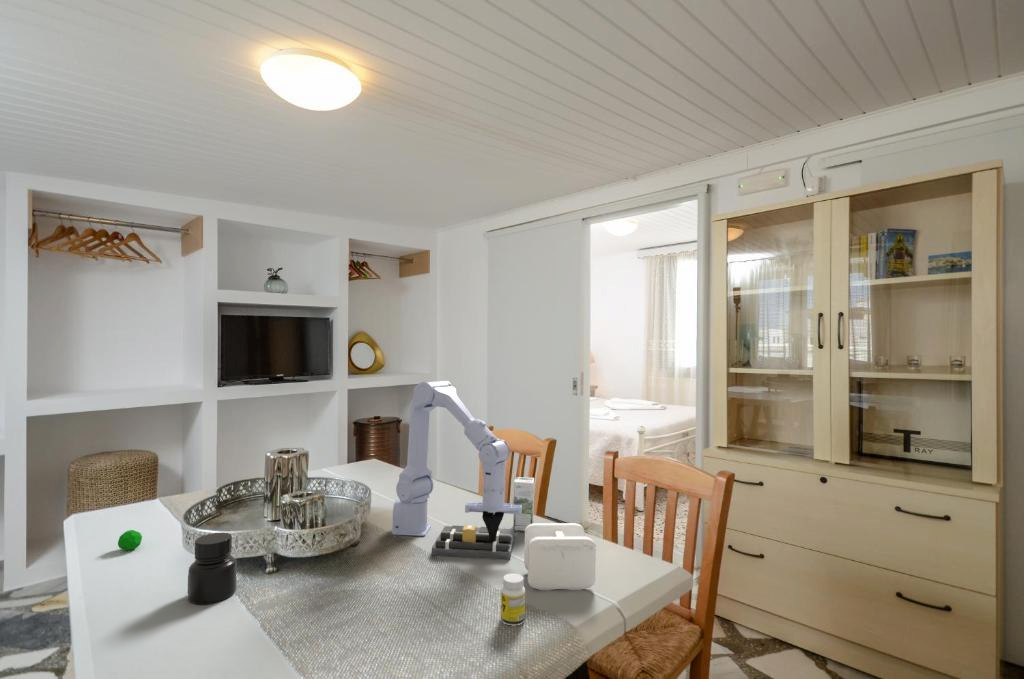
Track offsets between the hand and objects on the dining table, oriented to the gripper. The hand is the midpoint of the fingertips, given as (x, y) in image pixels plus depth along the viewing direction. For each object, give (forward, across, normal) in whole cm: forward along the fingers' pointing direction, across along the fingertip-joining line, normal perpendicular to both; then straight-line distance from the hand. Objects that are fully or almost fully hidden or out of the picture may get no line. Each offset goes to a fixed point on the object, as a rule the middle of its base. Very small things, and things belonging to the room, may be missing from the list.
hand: (493, 540), depth 135 cm
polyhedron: (+3, -92, -9) cm, 93 cm away
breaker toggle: (+1, -6, 0) cm, 6 cm away
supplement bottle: (+3, +8, -32) cm, 33 cm away
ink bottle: (+3, -56, -29) cm, 63 cm away
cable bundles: (+1, -5, +1) cm, 5 cm away
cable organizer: (+3, +17, -14) cm, 22 cm away
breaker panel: (+3, -5, +4) cm, 8 cm away
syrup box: (+3, +7, +19) cm, 20 cm away
